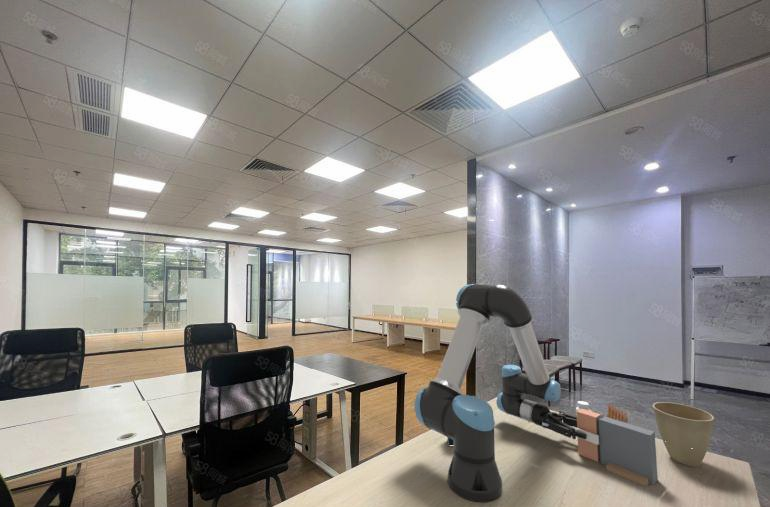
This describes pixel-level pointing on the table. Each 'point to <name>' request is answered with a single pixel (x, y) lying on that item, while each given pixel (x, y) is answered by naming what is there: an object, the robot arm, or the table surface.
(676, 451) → the plant pot
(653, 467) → the ticket block
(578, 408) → the supplement bottle
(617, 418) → the ammunition clip
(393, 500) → the table surface
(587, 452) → the stub
